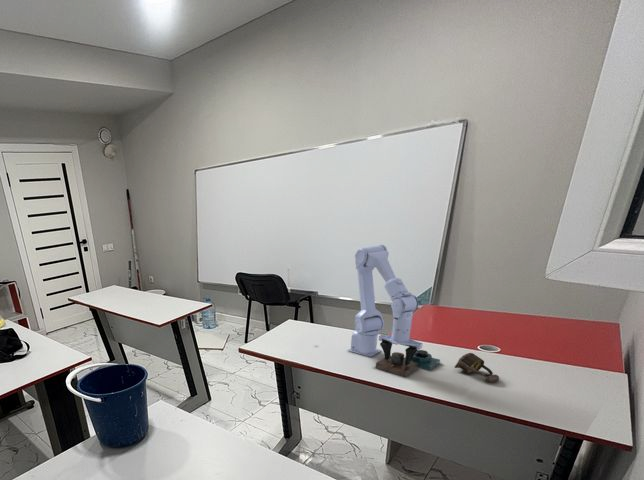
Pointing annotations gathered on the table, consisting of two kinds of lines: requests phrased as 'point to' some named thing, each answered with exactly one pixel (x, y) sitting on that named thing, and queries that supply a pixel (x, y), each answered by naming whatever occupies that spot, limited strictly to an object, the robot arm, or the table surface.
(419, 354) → the button
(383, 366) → the dial panel
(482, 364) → the mechanical counter
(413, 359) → the button box
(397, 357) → the dial knob
